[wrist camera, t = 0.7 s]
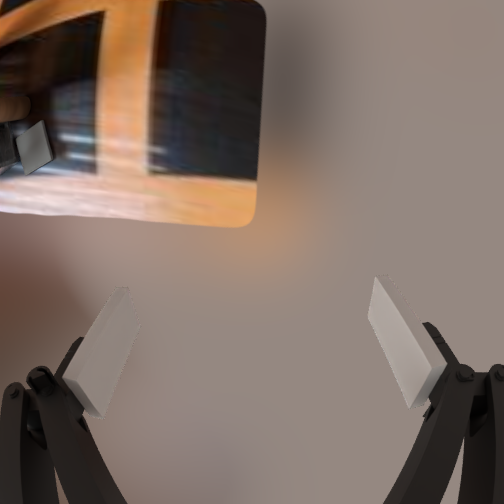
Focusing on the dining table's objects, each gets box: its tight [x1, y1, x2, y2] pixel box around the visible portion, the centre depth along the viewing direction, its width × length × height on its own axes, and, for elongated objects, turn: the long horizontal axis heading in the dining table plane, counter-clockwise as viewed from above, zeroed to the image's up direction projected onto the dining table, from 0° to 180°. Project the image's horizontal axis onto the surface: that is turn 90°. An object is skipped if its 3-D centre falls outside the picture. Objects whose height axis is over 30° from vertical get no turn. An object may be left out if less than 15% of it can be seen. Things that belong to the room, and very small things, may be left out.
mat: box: [16, 120, 53, 176], centre depth 34 cm, size 7×7×1 cm
